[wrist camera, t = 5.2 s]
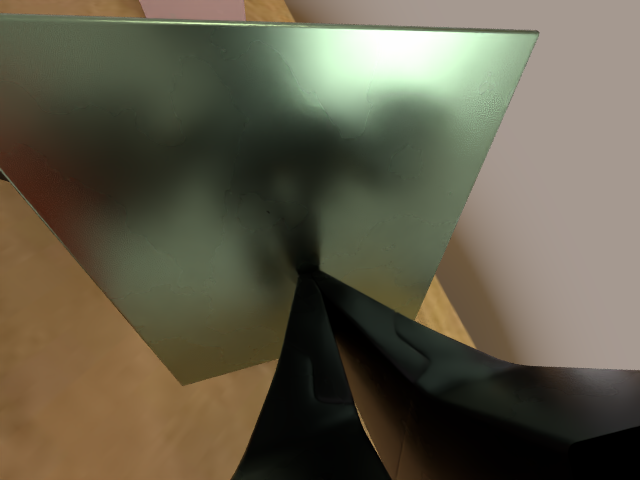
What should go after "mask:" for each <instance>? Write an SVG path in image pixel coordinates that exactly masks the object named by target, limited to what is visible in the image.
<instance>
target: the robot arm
mask: <svg viewBox="0 0 640 480" xmlns="http://www.w3.org/2000/svg"><path fill="white" fill-rule="evenodd" d="M354 401H355V402H354ZM355 403H356V406H357V408H358V410H359V412H360V414H361V417H362V419H363V421H364V423H365V425H366V428H367V430H368V432H369V434H370V436H371V439H372V441H373V443H374V445H375V447H376V450H377V452H378V454H379V456H380V458H381V459H380V458H379V456H378V454H377V452H376V451H375V449H374V447H373V445H372V444H371V442H370V440H369V438H368V437H367V435H366V433H365V431H364V429H363V426H362V424H361V421H360V418H359V415H358V412H357V409H356V406H355ZM381 460H382V461H381ZM231 480H640V370H617V369H592V368H565V367H542V366H526V365H519V364H514V363H509V362H506V361H503V360H500V359H497V358H495V357H492V356H490V355H488V354H485V353H483V352H481V351H479V350H476V349H474V348H472V347H470V346H467V345H465V344H463V343H461V342H458V341H456V340H454V339H452V338H449V337H447V336H445V335H443V334H440V333H438V332H436V331H434V330H432V329H430V328H428V327H425V326H423V325H421V324H419V323H417V322H416V321H414V320H412V319H410V318H408V317H406V316H404V315H402V314H400V313H399V312H396V313H395V310H393V309H391V308H389V307H387V306H386V305H384V304H382V303H380V302H378V301H376V300H375V299H373V298H371V297H369V296H367V295H365V294H364V293H362V292H360V291H358V290H356V289H355V288H353V287H351V286H349V285H347V284H345V283H344V282H342V281H340V280H338V279H336V278H334V277H333V276H331V275H329V274H327V273H325V272H323V271H315V272H311V274H310V273H306V274H301V275H299V276H298V279H297V283H296V288H295V292H294V297H293V301H292V305H291V310H290V314H289V319H288V323H287V328H286V332H285V336H284V341H283V344H282V349H281V353H280V357H279V361H278V364H277V368H276V371H275V374H274V377H273V380H272V383H271V386H270V389H269V391H268V394H267V396H266V399H265V402H264V404H263V407H262V409H261V412H260V415H259V417H258V420H257V422H256V425H255V428H254V430H253V433H252V435H251V438H250V441H249V443H248V445H247V448H246V450H245V453H244V455H243V457H242V459H241V461H240V463H239V465H238V467H237V469H236V471H235V473H234V475H233V476H232V478H231Z"/></svg>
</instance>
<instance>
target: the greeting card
mask: <svg viewBox="0 0 640 480" xmlns="http://www.w3.org/2000/svg"><path fill="white" fill-rule="evenodd" d="M139 2H140V4H141V6H142V9H143V11H144V14H145V16H146V18H166V19H197V20H229V21H246V17H245V7H244V0H139Z"/></svg>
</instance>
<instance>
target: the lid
mask: <svg viewBox="0 0 640 480" xmlns="http://www.w3.org/2000/svg"><path fill="white" fill-rule="evenodd" d="M538 37H539V32H538V31H537V30H513V29H510V30H509V29H480V28H449V27H418V26H386V25H355V24H353V25H352V24H323V23H292V22H260V21H229V20H197V19H166V18H134V17H103V16H71V15H40V14H8V13H0V171H1V172H2V173H3V175H4V176H5V177H6V178H7V179H8V181H9V182H10V183H11V184H12V185H13V186H14V188H15V189H16V190H17V191H18V192H19V194H20V195H21V196H22V197H23V198H24V199H25V201H26V202H27V203H28V204H29V205H30V207H31V208H32V209H33V210H34V211H35V212H36V214H37V215H38V216H39V217H40V218H41V220H42V221H43V222H44V223H45V224H46V225H47V227H48V228H49V229H50V230H51V231H52V233H53V234H54V235H55V236H56V237H57V238H58V240H59V241H60V242H61V243H62V244H63V246H64V247H65V248H66V249H67V250H68V251H69V253H70V254H71V255H72V256H73V257H74V259H75V260H76V261H77V262H78V263H79V264H80V266H81V267H82V268H83V269H84V270H85V272H86V273H87V274H88V275H89V276H90V277H91V279H92V280H93V281H94V282H95V283H96V285H97V286H98V287H99V288H100V289H101V290H102V292H103V293H104V294H105V295H106V296H107V298H108V299H109V300H110V301H111V302H112V303H113V305H114V306H115V307H116V308H117V309H118V311H119V312H120V313H121V314H122V315H123V316H124V318H125V319H126V320H127V321H128V322H129V324H130V325H131V326H132V327H133V328H134V329H135V331H136V332H137V333H138V334H139V335H140V337H141V338H142V339H143V340H144V341H145V342H146V344H147V345H148V346H149V347H150V348H151V350H152V351H153V352H154V353H155V354H156V355H157V357H158V358H159V359H160V360H161V361H162V363H163V364H164V365H165V366H166V367H167V368H168V370H169V371H170V372H171V373H172V374H173V376H174V377H175V378H176V379H177V380H178V381H179V383H180V384H181V385H182V386H184V385H188V384H191V383H195V382H198V381H202V380H205V379H209V378H212V377H216V376H219V375H223V374H226V373H230V372H233V371H237V370H240V369H244V368H248V367H251V366H255V365H258V364H262V363H265V362H269V361H272V360H276V359H279V357H280V353H281V349H282V344H283V341H284V336H285V332H286V328H287V323H288V319H289V314H290V310H291V305H292V301H293V297H294V292H295V288H296V283H297V279H298V276H299V275H301V274H306V273H310V274H311V272H315V271H323V272H325V273H327V274H329V275H331V276H333V277H334V278H336V279H338V280H340V281H342V282H344V283H345V284H347V285H349V286H351V287H353V288H355V289H356V290H358V291H360V292H362V293H364V294H365V295H367V296H369V297H371V298H373V299H375V300H376V301H378V302H380V303H382V304H384V305H386V306H387V307H389V308H391V309H393V310H395V313H396V312H399V313H400V314H402V315H404V316H406V317H408V318H410V319H412V320H415V318H416V316H417V313H418V311H419V309H420V307H421V304H422V302H423V300H424V297H425V295H426V293H427V291H428V288H429V286H430V284H431V281H432V279H433V277H434V275H435V272H436V270H437V267H438V265H439V263H440V261H441V259H442V256H443V254H444V252H445V249H446V247H447V245H448V243H449V240H450V238H451V236H452V233H453V231H454V229H455V227H456V224H457V222H458V219H459V217H460V215H461V213H462V210H463V208H464V206H465V204H466V201H467V199H468V197H469V194H470V192H471V190H472V188H473V185H474V183H475V181H476V178H477V176H478V174H479V172H480V169H481V167H482V165H483V162H484V160H485V158H486V156H487V153H488V151H489V149H490V146H491V144H492V142H493V139H494V137H495V135H496V133H497V130H498V128H499V126H500V123H501V121H502V119H503V117H504V114H505V112H506V110H507V107H508V105H509V103H510V101H511V98H512V96H513V94H514V91H515V89H516V87H517V85H518V82H519V80H520V78H521V76H522V73H523V70H524V69H525V66H526V64H527V62H528V59H529V57H530V55H531V53H532V50H533V48H534V46H535V43H536V41H537V39H538Z"/></svg>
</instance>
